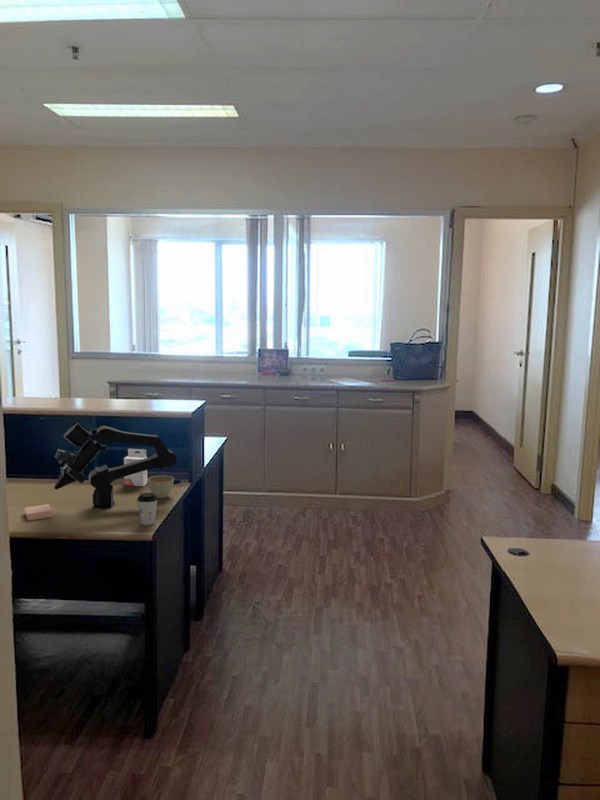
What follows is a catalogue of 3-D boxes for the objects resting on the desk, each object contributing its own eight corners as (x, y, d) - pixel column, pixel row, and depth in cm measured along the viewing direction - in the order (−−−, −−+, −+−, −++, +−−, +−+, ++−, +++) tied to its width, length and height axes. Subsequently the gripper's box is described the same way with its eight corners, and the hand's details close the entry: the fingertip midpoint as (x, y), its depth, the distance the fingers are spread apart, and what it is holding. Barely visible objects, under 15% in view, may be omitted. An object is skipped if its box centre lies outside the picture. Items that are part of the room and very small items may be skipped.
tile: (48, 504, 220) (24, 507, 215) (52, 510, 213) (27, 514, 209) (49, 511, 220) (25, 514, 216) (53, 517, 213) (28, 521, 209)
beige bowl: (171, 500, 233) (171, 482, 232) (145, 500, 233) (144, 482, 232) (176, 492, 243) (176, 475, 242) (151, 492, 243) (151, 475, 242)
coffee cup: (160, 519, 212) (159, 491, 210) (156, 526, 205) (155, 497, 203) (140, 519, 212) (139, 491, 210) (135, 526, 205) (134, 497, 203)
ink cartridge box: (123, 485, 252) (122, 451, 249) (128, 482, 256) (127, 448, 254) (143, 486, 251) (143, 451, 249) (148, 483, 256) (147, 449, 253)
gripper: (63, 436, 224) (32, 469, 220) (74, 446, 209) (41, 481, 204) (86, 454, 230) (56, 487, 225) (98, 465, 214) (67, 500, 210)
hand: (55, 488), depth 216 cm, fingers closed
